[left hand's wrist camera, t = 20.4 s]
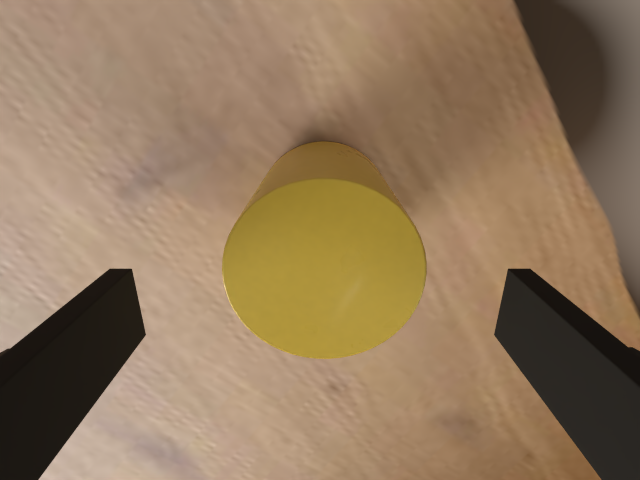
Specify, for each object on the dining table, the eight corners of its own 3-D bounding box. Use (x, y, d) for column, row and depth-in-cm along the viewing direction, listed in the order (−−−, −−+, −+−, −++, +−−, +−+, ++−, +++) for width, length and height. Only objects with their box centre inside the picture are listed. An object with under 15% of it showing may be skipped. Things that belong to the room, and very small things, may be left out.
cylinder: (236, 221, 21) (186, 300, 14) (306, 112, 19) (293, 131, 11) (338, 283, 23) (346, 386, 15) (414, 190, 21) (471, 255, 13)
